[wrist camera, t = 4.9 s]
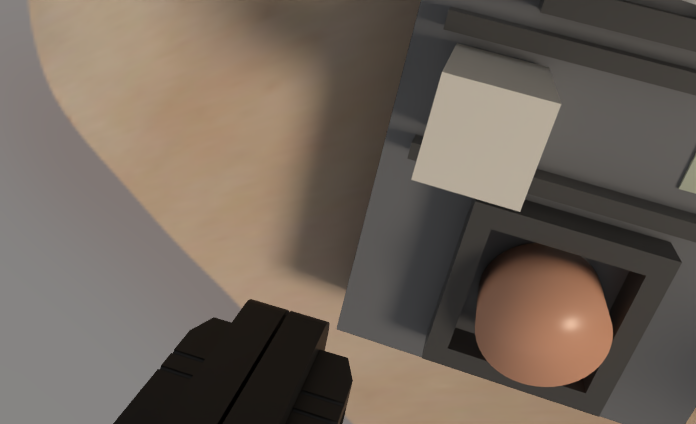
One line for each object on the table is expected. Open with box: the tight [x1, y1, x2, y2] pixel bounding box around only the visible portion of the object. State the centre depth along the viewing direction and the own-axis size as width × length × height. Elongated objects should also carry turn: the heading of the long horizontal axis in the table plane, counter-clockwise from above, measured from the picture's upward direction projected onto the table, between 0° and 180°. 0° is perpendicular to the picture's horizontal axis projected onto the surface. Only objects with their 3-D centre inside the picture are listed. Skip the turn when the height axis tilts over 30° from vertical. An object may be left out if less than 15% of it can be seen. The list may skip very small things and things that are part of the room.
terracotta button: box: [475, 243, 613, 387], centre depth 21 cm, size 4×4×2 cm
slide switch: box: [411, 43, 561, 212], centre depth 18 cm, size 3×3×5 cm
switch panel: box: [337, 0, 696, 424], centre depth 21 cm, size 22×14×4 cm, turn 168°
